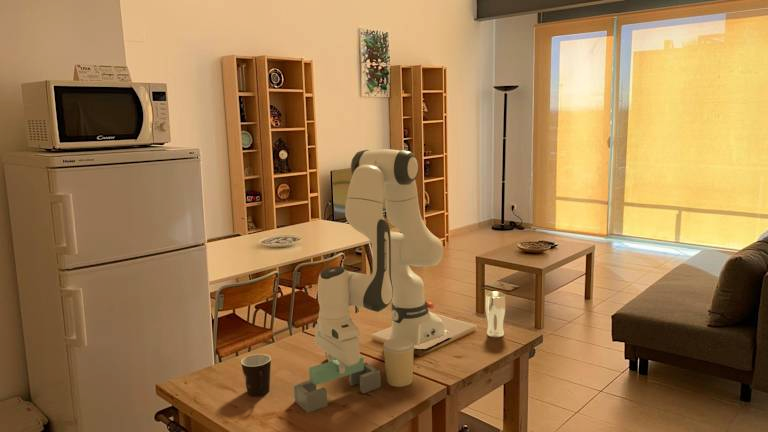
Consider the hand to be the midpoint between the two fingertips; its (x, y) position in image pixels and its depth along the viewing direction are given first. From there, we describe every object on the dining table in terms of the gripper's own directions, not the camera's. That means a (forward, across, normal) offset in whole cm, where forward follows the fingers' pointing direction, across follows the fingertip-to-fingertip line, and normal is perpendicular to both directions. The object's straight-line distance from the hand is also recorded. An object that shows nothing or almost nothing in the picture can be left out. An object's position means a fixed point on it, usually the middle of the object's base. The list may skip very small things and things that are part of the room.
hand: (337, 369), depth 169 cm
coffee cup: (+8, +4, +19) cm, 21 cm away
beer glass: (+8, -4, +67) cm, 68 cm away
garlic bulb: (+8, -21, +11) cm, 25 cm away
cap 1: (+8, 0, -9) cm, 12 cm away
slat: (+2, 0, 0) cm, 2 cm away
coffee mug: (+8, -15, -19) cm, 25 cm away
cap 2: (+8, 0, +9) cm, 12 cm away
